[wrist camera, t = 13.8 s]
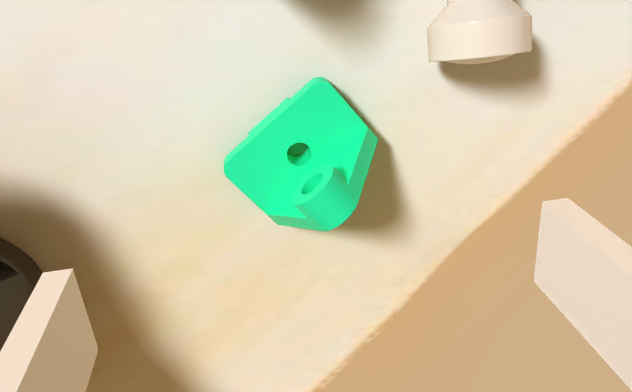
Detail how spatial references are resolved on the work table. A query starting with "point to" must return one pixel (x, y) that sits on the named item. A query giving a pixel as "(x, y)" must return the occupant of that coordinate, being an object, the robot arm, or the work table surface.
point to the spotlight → (479, 32)
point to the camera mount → (305, 159)
